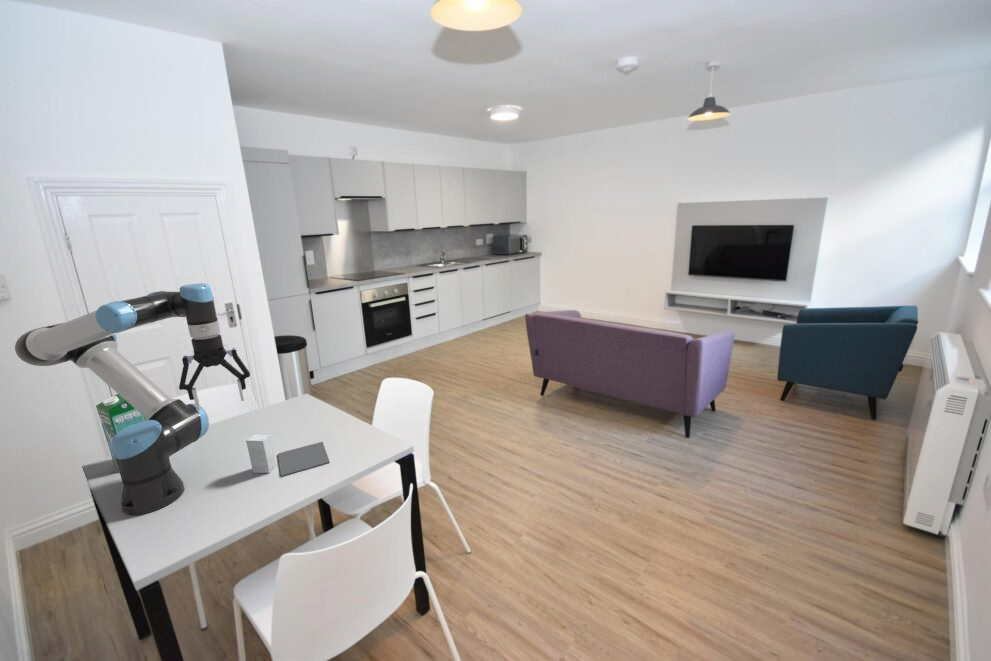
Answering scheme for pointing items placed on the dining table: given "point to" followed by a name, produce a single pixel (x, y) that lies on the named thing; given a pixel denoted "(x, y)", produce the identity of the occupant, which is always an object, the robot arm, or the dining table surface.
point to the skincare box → (261, 453)
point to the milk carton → (116, 417)
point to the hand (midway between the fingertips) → (221, 403)
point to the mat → (302, 458)
